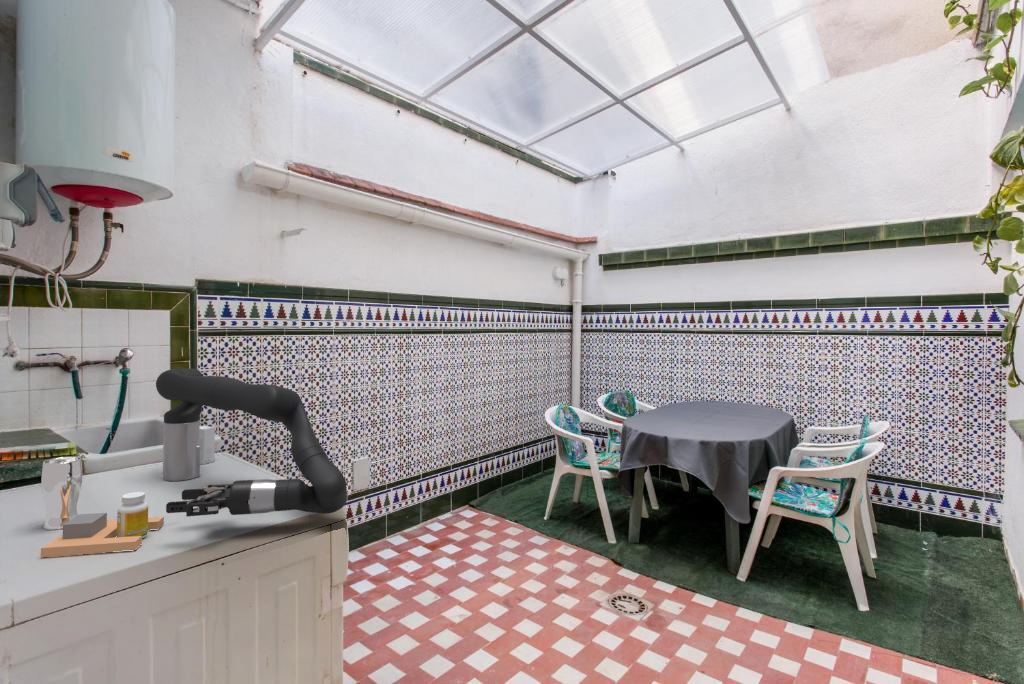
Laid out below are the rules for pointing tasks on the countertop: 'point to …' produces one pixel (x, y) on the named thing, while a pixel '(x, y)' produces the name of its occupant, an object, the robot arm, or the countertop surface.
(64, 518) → the beer glass
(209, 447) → the skincare box
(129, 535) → the supplement bottle
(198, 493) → the robot arm
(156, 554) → the countertop surface
